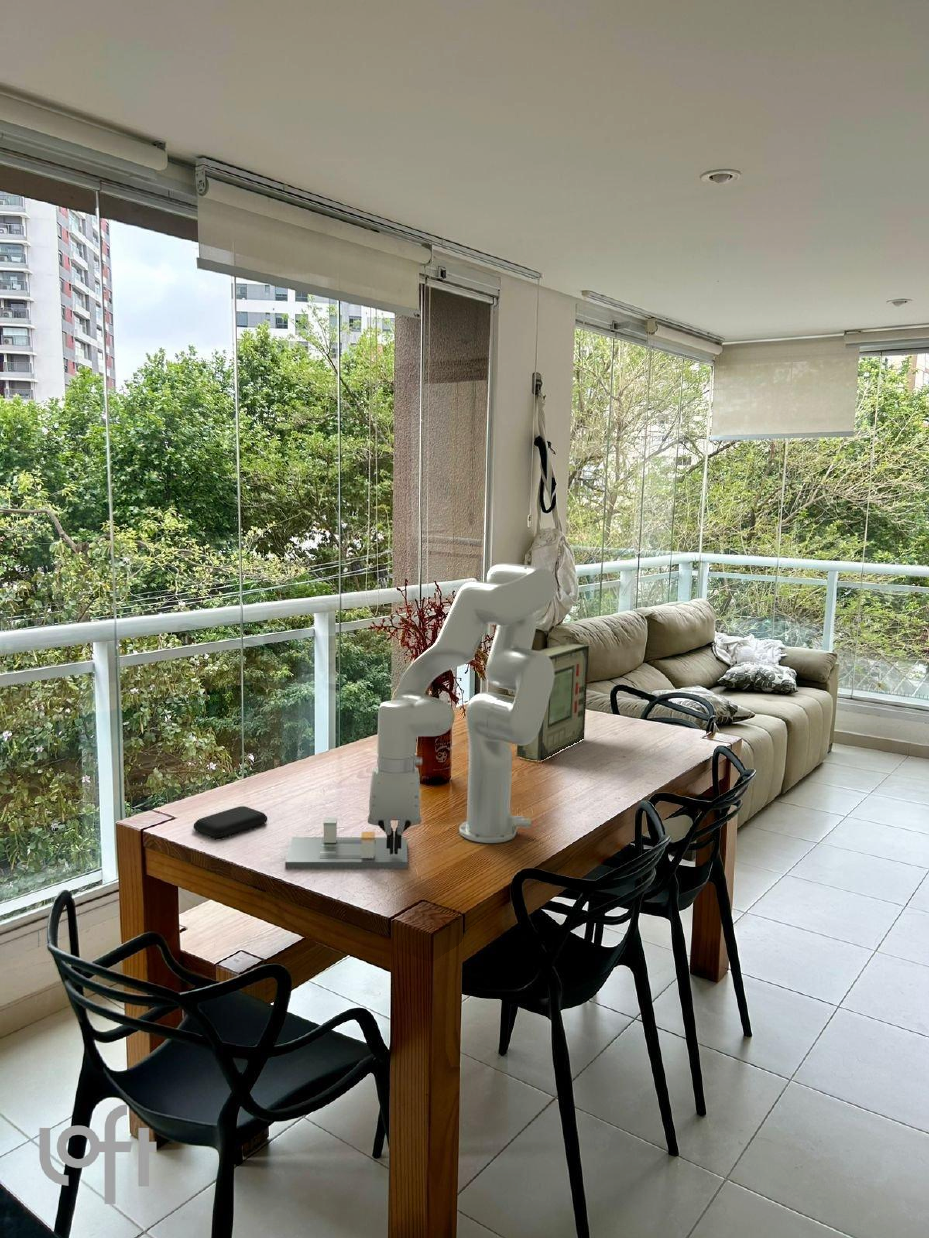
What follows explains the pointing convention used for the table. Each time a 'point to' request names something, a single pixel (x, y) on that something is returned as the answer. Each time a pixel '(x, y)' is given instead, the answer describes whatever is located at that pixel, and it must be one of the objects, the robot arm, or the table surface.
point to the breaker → (330, 829)
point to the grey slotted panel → (343, 854)
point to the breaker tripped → (367, 844)
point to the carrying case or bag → (230, 822)
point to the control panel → (562, 703)
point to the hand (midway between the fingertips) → (393, 851)
